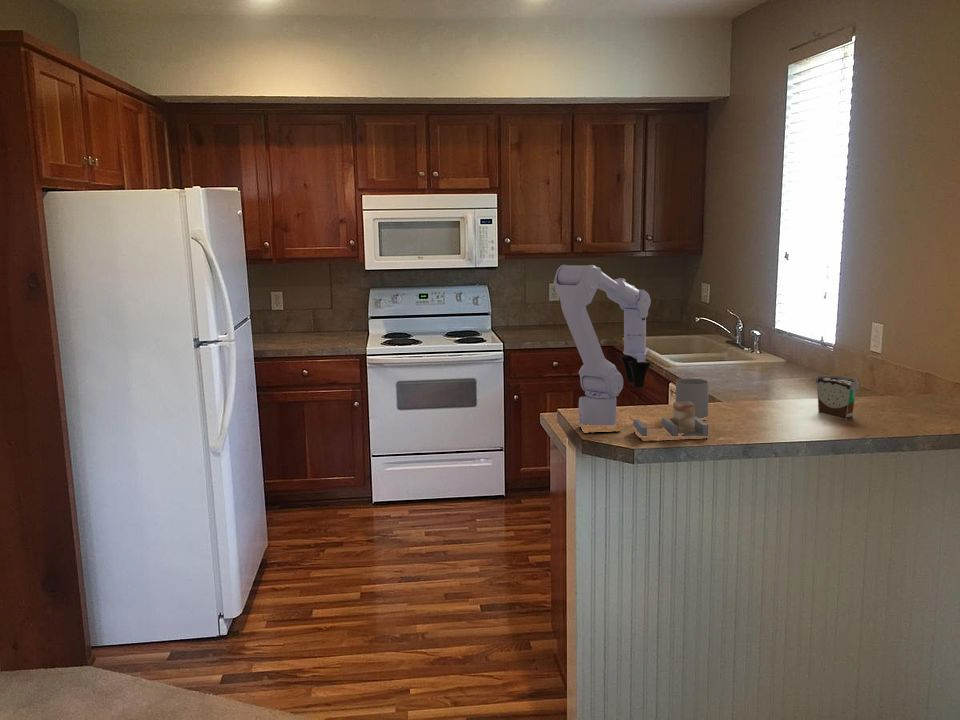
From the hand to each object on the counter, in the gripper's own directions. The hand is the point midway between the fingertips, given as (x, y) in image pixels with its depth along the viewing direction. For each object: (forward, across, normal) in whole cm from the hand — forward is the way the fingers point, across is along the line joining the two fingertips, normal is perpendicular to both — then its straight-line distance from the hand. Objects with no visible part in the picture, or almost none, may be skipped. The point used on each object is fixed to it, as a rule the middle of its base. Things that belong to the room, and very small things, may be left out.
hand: (635, 384), depth 208 cm
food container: (+10, -6, -54) cm, 55 cm away
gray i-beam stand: (+9, -19, -4) cm, 21 cm away
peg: (+8, -19, -8) cm, 22 cm away
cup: (+10, -2, -15) cm, 18 cm away
